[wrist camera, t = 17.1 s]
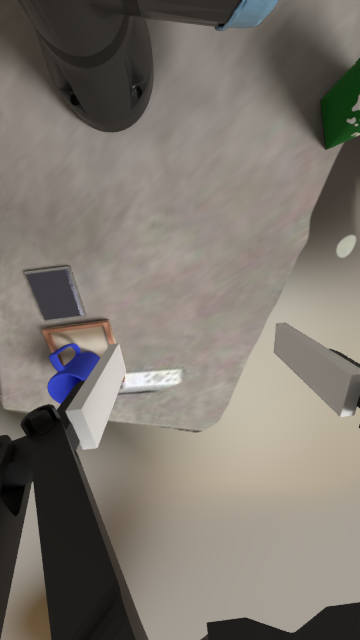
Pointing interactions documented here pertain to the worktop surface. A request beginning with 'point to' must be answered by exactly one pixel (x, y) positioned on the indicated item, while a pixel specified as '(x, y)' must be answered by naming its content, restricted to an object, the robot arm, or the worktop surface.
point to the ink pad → (56, 293)
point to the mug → (70, 371)
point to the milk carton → (342, 108)
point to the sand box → (80, 339)
